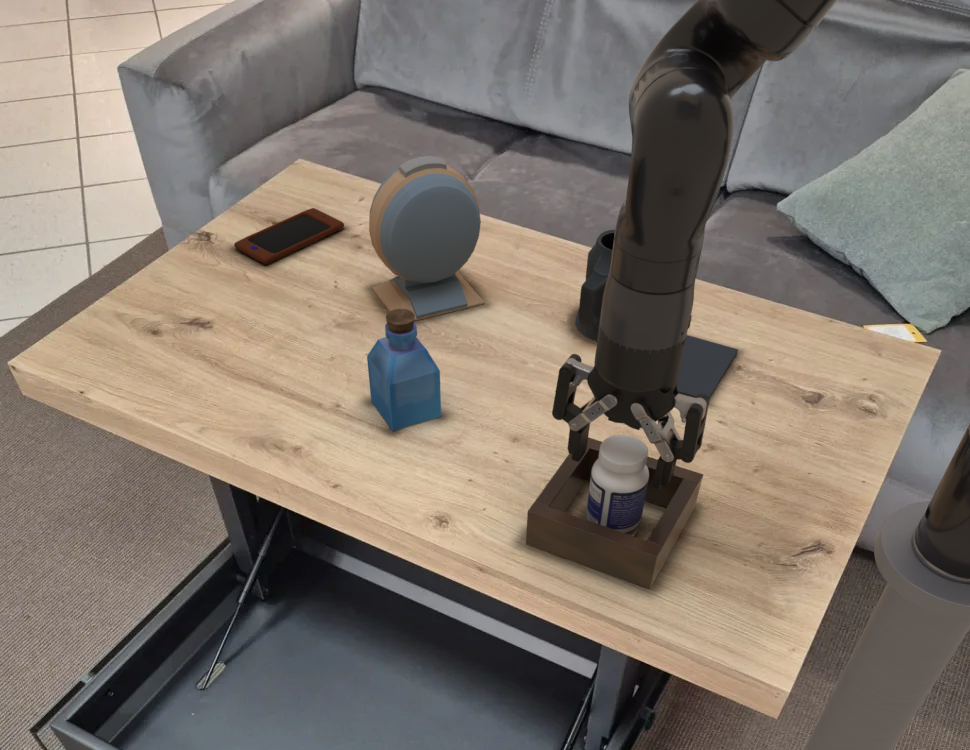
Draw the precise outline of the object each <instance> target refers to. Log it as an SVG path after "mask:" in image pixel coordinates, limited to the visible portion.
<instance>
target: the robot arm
mask: <svg viewBox="0 0 970 750" xmlns="http://www.w3.org/2000/svg"><path fill="white" fill-rule="evenodd" d="M838 1H839V0H695V1H694V3H693V4H691V6H690V7H689V8H688V9H687V10H686V11H685V12H684V13H683V14H682V15H681V16H680V18H679V19H678V20H677V21H675V23H674V24H673V25H672V26H671V27H670V28H669V29H668V30H667V31H666V33H665V34H664V35H663V36H662V37H661V39H660V40H659V41H658V42H657V43H656V45H654V47H653V49H652V50H651V51H650V53H649V54H648V56H647V57H646V59H645V60H644V62H642V64H641V67H640V68H639V70H638V72H637V74H636V76H635V78H634V80H633V83H632V85H631V88H630V93H629V98H628V116H629V122H630V128H631V130H630V132H631V151H630V152H631V153H630V164H629V165H630V167H629V173H628V174H629V175H628V181H627V188H626V189H627V190H626V197H625V201H623V203H622V205H621V207H620V209H619V212H618V214H617V219H616V223H615V228H614V229H615V234H614V243H613V251H612V258H611V266H610V271H609V275H608V279H607V282H606V286H605V290H604V295H603V301H602V309H601V316H600V324H599V331H598V339H597V341H596V346H595V347H596V348H595V354H594V365H593V366H591V365H589V364H587V363H583V362H582V358H581V356H580V355H579V354H577V353H571V355H570V356H569V357H568V358H567V360H566V361H564V363H563V365H561V367H560V368H559V369H558V375H557V382H556V387H555V393H554V398H553V405H552V411H551V415H552V417H553V418H554V419H555V420H557V421H564V422H565V423H567V426H568V428H569V432H568V441H567V451H568V454H569V453H570V454H572V460H574V461H577V462H579V461H580V460H581V458H582V457H583V455H584V454H585V452H586V449H587V443H588V437H589V434H590V427H591V423H593V422H594V421H596V420H597V419H598V418H600V417H601V416H602V415H604V416H605V417H606V418H607V420H608V422H609V421H610V422H612V423H616V424H624V425H626V426H627V427H629V428H631V429H634V430H637V431H640V429H642V431H643V432H644V434H645V436H646V438H647V440H648V442H649V443H650V444H651V445H652V444H653V445H654V446H655V449H656V450H657V452H658V454H659V457H658V458H657V460H658V462H657V466H656V471H655V476H654V481H653V485H652V488H655V489H658V490H660V488H661V486H662V485H663V486H666V485H667V484H668V483H669V481H670V480H671V478H672V476H673V474H674V470H675V466H677V461H678V460H679V461H680V460H681V461H682V462H684V463H685V464H690V463H692V462H693V461H694V459H695V456H696V455H697V453H698V451H700V449H701V447H702V446H703V445H702V444H703V439H704V435H705V434H704V432H705V427H706V423H707V416H708V410H709V404H710V399H709V397H708V396H707V395H706V394H703V393H701V394H699V395H697V397H696V398H694V397H690V396H686V395H682V394H679V391H678V388H677V378H678V373H679V369H680V364H681V359H682V355H683V350H684V345H685V341H686V336H687V335H688V330H689V329H690V327H691V322H692V317H693V316H692V313H693V307H694V301H695V300H694V299H695V287H696V286H695V285H696V279H697V274H698V270H699V264H700V260H701V255H702V250H703V244H704V239H705V231H706V226H707V222H708V220H709V218H710V216H711V213H712V211H713V208H714V206H715V203H716V200H717V197H718V195H719V192H720V189H721V186H722V185H723V184H722V183H723V181H724V178H725V174H726V171H727V168H728V165H729V160H730V156H731V151H732V146H733V139H734V132H735V113H734V109H733V105H732V101H731V100H732V99H733V98H734V96H735V95H736V94H737V93H738V91H740V90H741V88H742V87H743V86H744V85H745V84H746V83H747V82H748V81H749V79H750V78H751V77H752V76H754V74H755V73H756V72H757V71H758V70H759V69H760V68H761V67H762V66H763V65H764V64H765V63H766V62H767V61H768V62H780V61H783V60H785V59H787V58H788V57H789V56H791V55H792V54H793V53H794V52H795V51H797V49H799V47H800V46H801V45H803V43H804V42H805V41H806V40H807V38H809V36H810V35H811V34H812V33H813V32H814V30H815V27H818V26H819V25H820V23H821V22H822V20H823V19H824V18H825V17H826V16H827V15H828V13H829V12H830V11H831V10H832V9H833V7H834V6H835V5H836V4H837V2H838ZM583 381H586V382H587V385H588V387H589V389H590V391H591V393H592V395H593V397H592V398H591V399H590V400H588V401H587V402H586V403H585V404H583V405H582V406H581V407H580V406H578V405H577V404H575V398H576V392H577V387H579V386H580V385H581V384H582V383H583ZM673 409H676V410H678V412H679V416H680V421H681V422H682V423H683V424H685V425H684V430H683V431H684V432H683V438H681V437H680V435H679V433H678V431H677V428H676V427H675V419H674V417H673V414H672V412H671V411H672V410H673ZM928 501H930V503H929V502H928V504H929V505H928V504H927V506H928V507H926V508H927V509H925V511H924V514H923V516H922V519H921V520H920V522H919V524H918V526H917V527H916V529H915V531H914V533H913V535H912V540H911V543H912V548H913V551H914V553H915V555H916V556H917V558H918V559H919V560H920V561H921V563H922V564H923V565H925V566H926V567H927V568H928V569H930V570H931V571H932V572H934V573H936V574H937V575H939V576H941V577H944V578H946V579H949V580H952V581H955V582H959V583H964V584H970V423H969V424H968V426H967V428H966V430H965V432H964V434H963V436H962V438H961V440H960V442H959V444H958V446H957V448H956V450H955V451H954V454H953V456H952V458H951V459H950V462H949V464H948V466H947V468H946V469H945V471H944V473H943V475H942V478H941V479H940V482H939V483H938V486H937V488H936V489H935V491H934V493H933V496H932V497H930V499H929V500H928Z"/></svg>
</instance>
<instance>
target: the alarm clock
mask: <svg viewBox="0 0 970 750" xmlns="http://www.w3.org/2000/svg"><path fill="white" fill-rule="evenodd" d="M480 211H481V210H480V204H479V199H478V198H477V195H476V193H475V190H474V188H473V187H472V186H471V185H470V183H468V181H467V180H466V178H465V177H464V176H463V175H461V173H460V172H458V171H457V170H456V169H454V168H453V167H451V166H450V165H448V164H447V162H445V161H444V159H443V158H441V157H439V156H433V155H424V156H418V157H414V158H412V159H409V160H407V161H405V162H402V163H401V164H400V165H399V167H398V168H397V169H395V170H394V171H392V172H391V173H390V174H389V175H387V176H386V178H385V179H384V180H383V181H382V182H381V184H380V185H379V187H378V189H377V190H376V192H375V194H374V196H373V198H372V202H371V205H370V209H369V220H368V221H369V222H368V227H369V228H368V232H369V237H370V242H371V246H372V247H373V249H374V251H375V253H376V255H377V257H378V258H379V260H381V262H382V263H383V264H384V266H385V267H387V269H388V270H389V271H390V272H391V273H392V274H393V275H395V276H394V277H392V278H391V279H389V280H388V281H386V282H384V283H380V284H376V285H373V286H371V289H372V290H373V292H374V293H375V294H376V296H377V297H378V299H379V300H380V301H381V302H382V304H383V305H384V307H385V308H386V309H387V310H388V312H389V311H391V310H394V309H407V310H410V311H412V312H413V313H414V315H415V319H414V322H415V321H419V320H424V319H429V318H432V317H433V318H434V317H436V316H441V315H444V314H449V313H453V312H457V311H461V310H464V309H465V310H466V309H470V308H473V307H478V306H482V305H485V301H484V300H483V298H482V297H481V296H480V295H479V294H478V293H477V292H476V290H475V289H473V287H472V286H471V285H470V284H469V283H468V282H467V280H466V279H465V278H464V277H463V276H462V275H461V274H460V273H459V271H460V269H461V268H462V267H464V265H466V263H467V262H468V261H469V259H470V258H471V256H472V254H473V253H474V252H475V249H476V247H477V243H478V242H479V237H480V232H481V226H482V225H481V224H482V221H481V212H480Z"/></svg>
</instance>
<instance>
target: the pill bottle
mask: <svg viewBox="0 0 970 750" xmlns="http://www.w3.org/2000/svg"><path fill="white" fill-rule="evenodd" d="M601 442H602V443H601V445H600V450H599V458H598V459H597V460H596V461H595V463H594V465H593V467H592V471H591V479H590V482H589V488H588V494H587V503H586V512H585V520H588V521H591V522H594V523H597V524H600V525H602V526H605V527H608V528H611V529H614V530H617V531H620V532H622V533H625V534H628V535H631V536H634V537H635V536H636V534H638V531H639V529H640V527H641V523H642V519H643V518H642V517H643V512H644V506H645V502H646V501H645V496H646V490H647V485H648V479H649V471H648V468H647V466H646V463H647V457H649V448H648V446H647V445H646V443H645V442H644V441H642V440H641V439H640V438H638V437H635V436H634V435H628V434H616V435H611V436H609V437H607V438H605V439H604V440H603V441H601Z"/></svg>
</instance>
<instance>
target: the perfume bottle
mask: <svg viewBox="0 0 970 750" xmlns="http://www.w3.org/2000/svg"><path fill="white" fill-rule="evenodd" d="M414 319H415V315H414V313H413V312H412V311H410V310H407V309H394V310H391V311H389V310H388V312H387V313H386V314H385V321H386V324H385V325H384V332H385V337H381V338H378V339H377V340H376V342H375V343H374V345H372V348H370V350H369V352H368V354H367V355H366V362H367V372H368V382H369V392H370V402H371V404H372V405H373V407H374V408H375V410H376V411H377V412H378V413H379V415H380V416H381V418H382V419H383V420H384V422H385V423H386V425H387V426H388V427H389V429H390V430H391V431H392V432H395V431H398V430H402V429H404V428H408V427H411V426H415V425H418V424H421V423H424V422H428V421H431V420H434V419H437V418H441V417H442V400H441V397H442V396H441V370H440V368H439V366H438V365H437V364H436V362H435V361H434V359H433V357H432V356H431V354H430V352H429V351H428V350H427V348H426V346H425V345H424V344H423V343H422V342H421V341H420V340H419V338H418V337H417V336H418V327H417V326H418V325H417V323H416V322H415V321H414Z"/></svg>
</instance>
